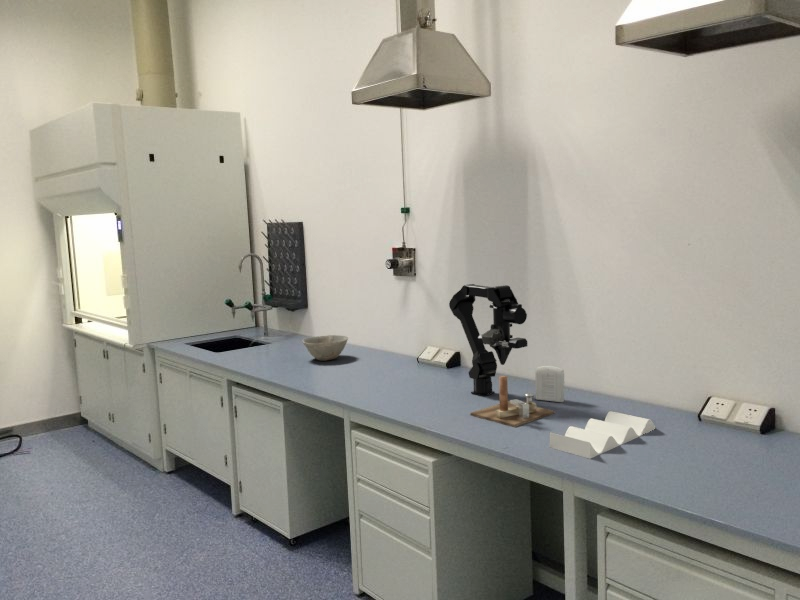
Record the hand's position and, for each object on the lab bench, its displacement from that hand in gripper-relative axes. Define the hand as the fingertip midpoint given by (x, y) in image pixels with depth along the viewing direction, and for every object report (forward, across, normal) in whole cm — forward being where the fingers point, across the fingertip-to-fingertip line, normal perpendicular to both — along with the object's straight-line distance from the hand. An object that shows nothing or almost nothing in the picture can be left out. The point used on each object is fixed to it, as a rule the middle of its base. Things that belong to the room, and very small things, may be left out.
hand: (502, 364), depth 237 cm
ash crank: (+12, +17, -12) cm, 24 cm away
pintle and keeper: (+12, +19, -10) cm, 25 cm away
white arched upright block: (+13, +12, +11) cm, 21 cm away
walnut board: (+13, +14, -11) cm, 22 cm away
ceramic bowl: (+13, -113, -1) cm, 114 cm away
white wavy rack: (+14, +49, -11) cm, 52 cm away
